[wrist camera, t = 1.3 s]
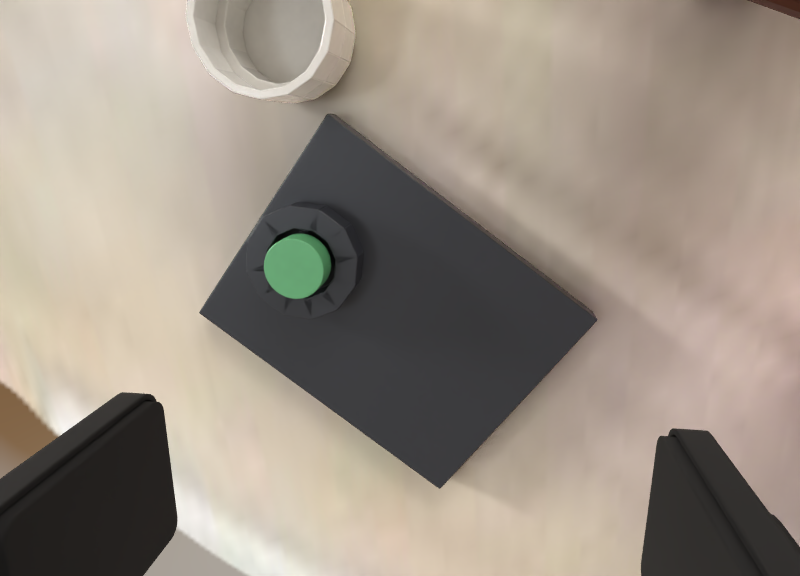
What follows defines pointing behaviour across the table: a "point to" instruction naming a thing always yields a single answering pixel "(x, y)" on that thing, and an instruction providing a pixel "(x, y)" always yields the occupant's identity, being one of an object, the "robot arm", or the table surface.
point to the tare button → (297, 265)
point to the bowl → (273, 45)
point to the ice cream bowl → (782, 6)
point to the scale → (397, 306)
